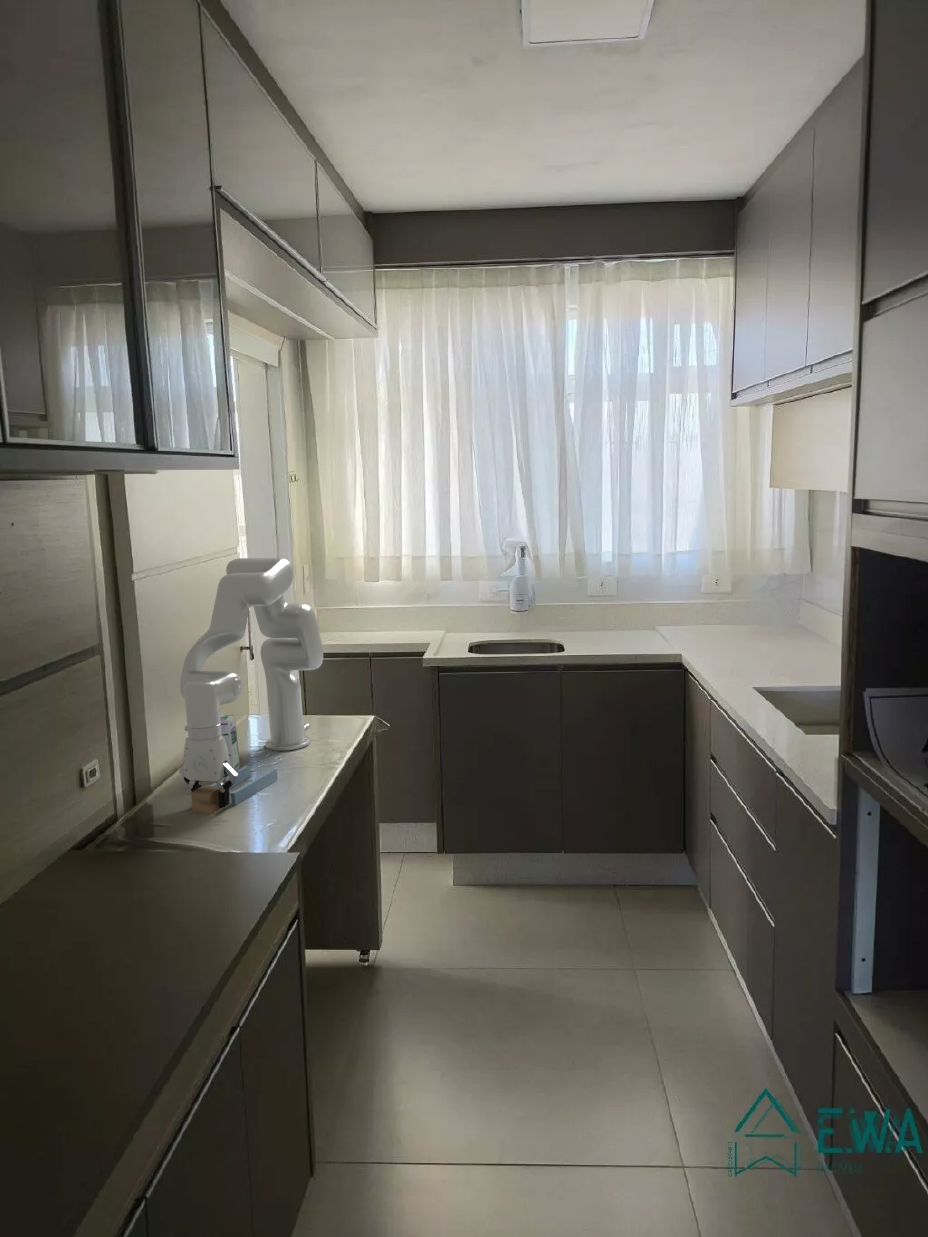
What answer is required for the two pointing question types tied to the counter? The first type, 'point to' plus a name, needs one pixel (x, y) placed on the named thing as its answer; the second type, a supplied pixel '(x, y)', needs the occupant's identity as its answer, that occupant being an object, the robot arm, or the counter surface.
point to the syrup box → (230, 739)
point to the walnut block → (205, 800)
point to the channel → (250, 784)
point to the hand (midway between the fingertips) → (211, 804)
